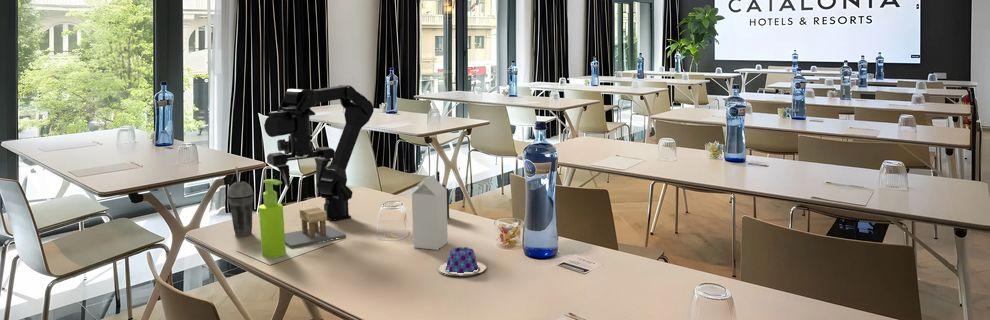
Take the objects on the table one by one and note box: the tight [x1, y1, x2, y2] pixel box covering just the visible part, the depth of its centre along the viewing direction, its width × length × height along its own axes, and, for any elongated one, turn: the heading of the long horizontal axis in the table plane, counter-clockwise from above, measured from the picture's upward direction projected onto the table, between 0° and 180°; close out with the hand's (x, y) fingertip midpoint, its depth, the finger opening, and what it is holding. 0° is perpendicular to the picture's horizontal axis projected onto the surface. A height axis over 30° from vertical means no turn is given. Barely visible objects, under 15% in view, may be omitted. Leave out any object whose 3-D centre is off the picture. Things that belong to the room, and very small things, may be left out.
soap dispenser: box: [258, 178, 287, 259], centre depth 181 cm, size 6×7×20 cm
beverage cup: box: [226, 166, 255, 238], centre depth 198 cm, size 7×7×20 cm
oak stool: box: [299, 206, 328, 238], centre depth 197 cm, size 7×5×7 cm
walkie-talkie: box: [436, 171, 450, 219], centre depth 214 cm, size 5×3×15 cm
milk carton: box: [411, 174, 449, 251], centre depth 187 cm, size 7×7×19 cm
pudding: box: [437, 246, 487, 276], centre depth 170 cm, size 12×12×5 cm
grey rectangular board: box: [284, 225, 347, 249], centre depth 197 cm, size 16×12×1 cm
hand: (303, 184), depth 205 cm, fingers open, 9 cm apart
